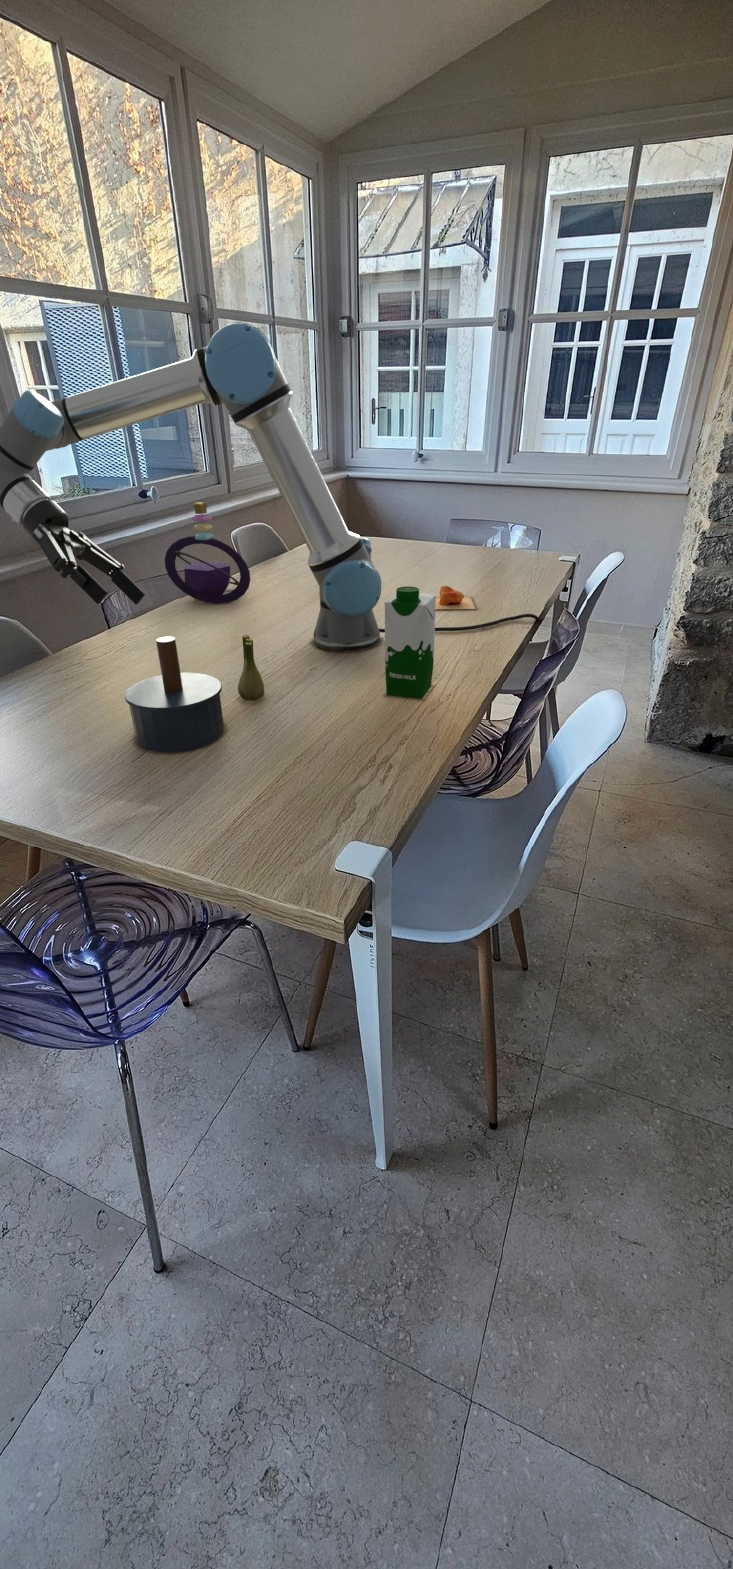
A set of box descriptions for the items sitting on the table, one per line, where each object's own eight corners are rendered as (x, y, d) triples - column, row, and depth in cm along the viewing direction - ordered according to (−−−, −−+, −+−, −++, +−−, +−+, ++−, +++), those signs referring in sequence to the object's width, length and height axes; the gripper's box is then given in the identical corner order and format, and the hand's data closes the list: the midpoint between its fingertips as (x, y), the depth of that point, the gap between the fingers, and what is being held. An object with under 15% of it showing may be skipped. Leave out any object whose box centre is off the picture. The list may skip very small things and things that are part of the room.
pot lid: (205, 673, 125) (197, 619, 120) (235, 701, 113) (228, 644, 109) (116, 690, 119) (105, 634, 114) (139, 722, 107) (127, 662, 102)
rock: (475, 609, 183) (476, 593, 181) (429, 610, 183) (429, 593, 181) (470, 597, 193) (471, 582, 191) (426, 598, 194) (426, 582, 192)
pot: (208, 709, 128) (202, 671, 124) (236, 739, 117) (231, 698, 113) (127, 727, 122) (119, 687, 118) (149, 760, 111) (140, 717, 107)
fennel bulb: (259, 705, 129) (253, 643, 124) (234, 703, 130) (227, 641, 124) (269, 693, 134) (263, 633, 128) (245, 692, 135) (238, 631, 129)
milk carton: (380, 696, 132) (379, 590, 122) (394, 680, 140) (395, 579, 130) (425, 702, 130) (428, 594, 120) (437, 685, 137) (441, 582, 127)
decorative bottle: (178, 610, 187) (163, 511, 174) (165, 592, 203) (150, 501, 191) (259, 600, 194) (250, 504, 182) (240, 584, 211) (231, 495, 199)
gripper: (66, 537, 139) (143, 613, 140) (-22, 521, 115) (71, 614, 116) (88, 507, 137) (165, 585, 138) (2, 486, 113) (97, 580, 114)
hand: (122, 598), depth 127 cm, fingers open, 13 cm apart
